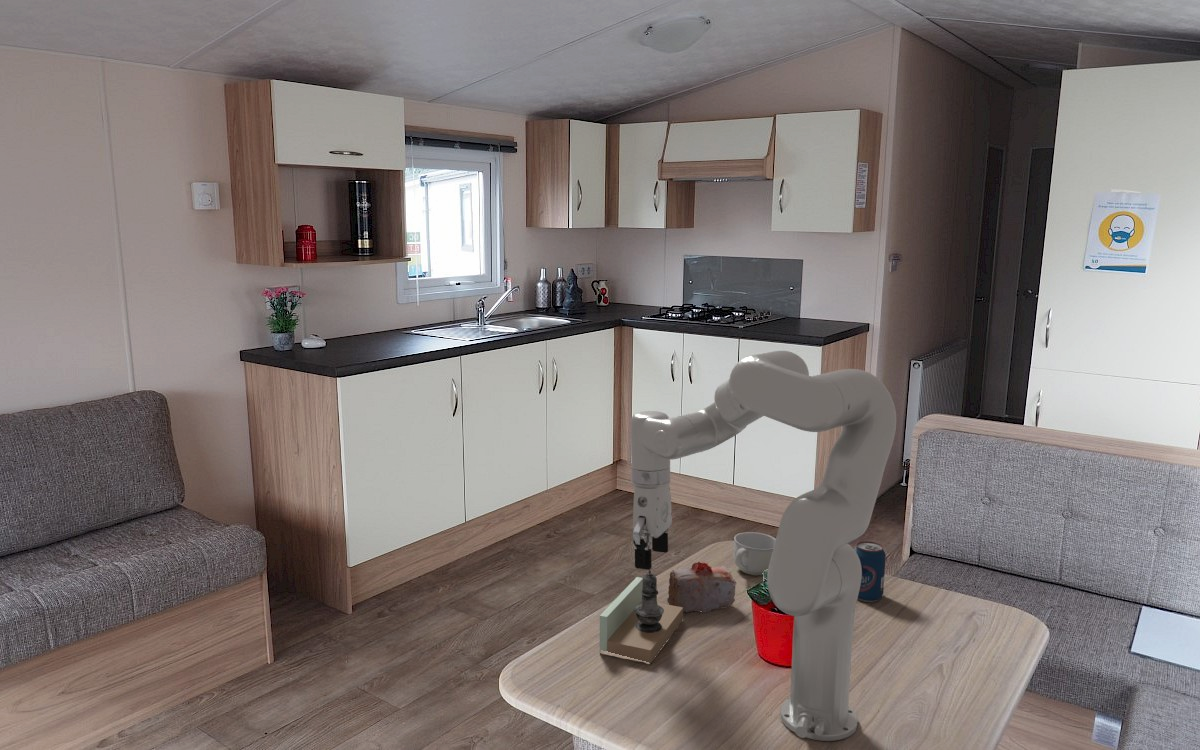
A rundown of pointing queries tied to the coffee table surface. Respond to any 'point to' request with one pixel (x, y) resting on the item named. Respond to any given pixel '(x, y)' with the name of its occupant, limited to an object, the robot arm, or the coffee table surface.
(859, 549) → the soda can
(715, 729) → the coffee table surface
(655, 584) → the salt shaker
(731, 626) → the coffee table surface
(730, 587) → the food item
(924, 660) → the coffee table surface
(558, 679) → the coffee table surface
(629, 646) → the cleat board
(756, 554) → the teacup
